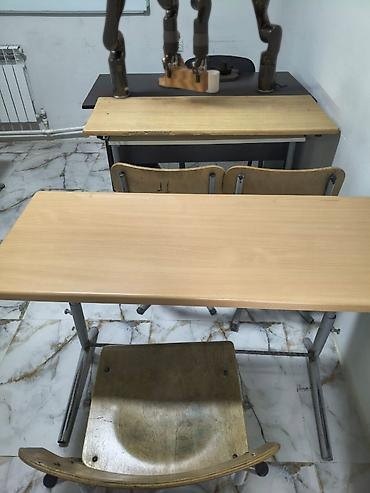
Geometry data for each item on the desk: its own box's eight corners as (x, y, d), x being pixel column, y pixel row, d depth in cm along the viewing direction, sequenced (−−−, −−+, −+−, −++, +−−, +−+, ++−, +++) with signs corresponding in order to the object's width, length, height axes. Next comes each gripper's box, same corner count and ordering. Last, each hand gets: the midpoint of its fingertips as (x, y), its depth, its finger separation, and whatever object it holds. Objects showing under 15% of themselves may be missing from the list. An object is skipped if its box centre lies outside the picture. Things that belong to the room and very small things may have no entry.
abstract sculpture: (206, 66, 216) (199, 58, 231) (206, 82, 222) (199, 74, 237) (246, 63, 219) (237, 56, 234) (245, 79, 224) (236, 71, 240)
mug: (199, 94, 205) (199, 75, 198) (197, 89, 211) (197, 71, 204) (220, 92, 206) (220, 73, 199) (217, 88, 212) (217, 69, 205)
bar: (165, 85, 192) (164, 67, 186) (170, 83, 195) (169, 65, 189) (203, 92, 181) (203, 74, 176) (208, 89, 184) (208, 71, 179)
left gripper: (168, 43, 172) (170, 81, 183) (185, 38, 181) (185, 74, 192) (156, 42, 175) (158, 79, 186) (173, 37, 184) (174, 72, 195)
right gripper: (199, 47, 164) (199, 86, 175) (215, 41, 173) (214, 78, 184) (185, 45, 167) (186, 84, 178) (202, 40, 176) (202, 76, 187)
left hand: (172, 76), depth 189 cm, fingers closed on bar, 4 cm apart
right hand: (200, 81), depth 181 cm, fingers closed on bar, 4 cm apart
